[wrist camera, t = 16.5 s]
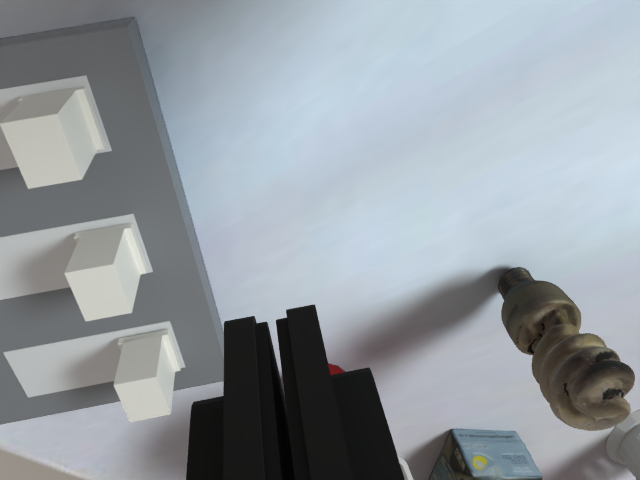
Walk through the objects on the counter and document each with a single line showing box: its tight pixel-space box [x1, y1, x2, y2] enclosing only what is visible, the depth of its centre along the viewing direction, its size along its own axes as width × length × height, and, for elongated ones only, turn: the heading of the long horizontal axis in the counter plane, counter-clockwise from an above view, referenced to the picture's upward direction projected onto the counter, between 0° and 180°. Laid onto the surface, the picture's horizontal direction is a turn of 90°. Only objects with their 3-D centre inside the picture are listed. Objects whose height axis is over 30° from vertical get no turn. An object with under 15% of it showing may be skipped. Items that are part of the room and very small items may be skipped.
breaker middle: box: [64, 223, 148, 321], centre depth 36 cm, size 4×4×5 cm
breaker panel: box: [0, 17, 224, 425], centre depth 39 cm, size 27×18×3 cm, turn 7°
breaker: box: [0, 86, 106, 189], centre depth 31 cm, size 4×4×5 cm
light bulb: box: [498, 267, 635, 431], centre depth 42 cm, size 6×6×15 cm
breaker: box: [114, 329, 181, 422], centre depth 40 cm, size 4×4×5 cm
